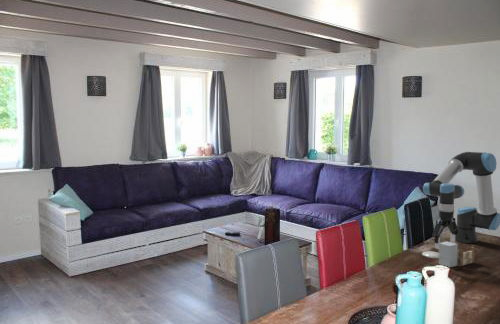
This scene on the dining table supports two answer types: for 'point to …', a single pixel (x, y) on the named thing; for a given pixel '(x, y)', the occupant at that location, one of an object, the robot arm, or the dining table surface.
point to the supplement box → (448, 254)
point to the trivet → (431, 254)
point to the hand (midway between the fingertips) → (444, 247)
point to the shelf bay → (466, 256)
